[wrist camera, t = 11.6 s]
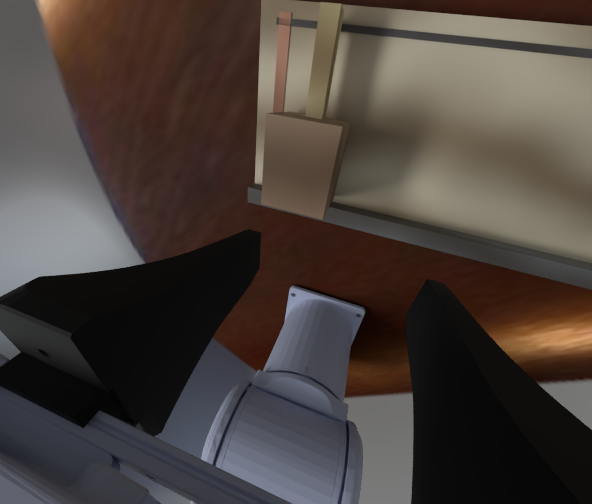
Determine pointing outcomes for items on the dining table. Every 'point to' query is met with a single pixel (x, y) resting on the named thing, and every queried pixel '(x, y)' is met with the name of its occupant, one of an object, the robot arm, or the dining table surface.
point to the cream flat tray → (449, 130)
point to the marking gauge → (307, 135)
